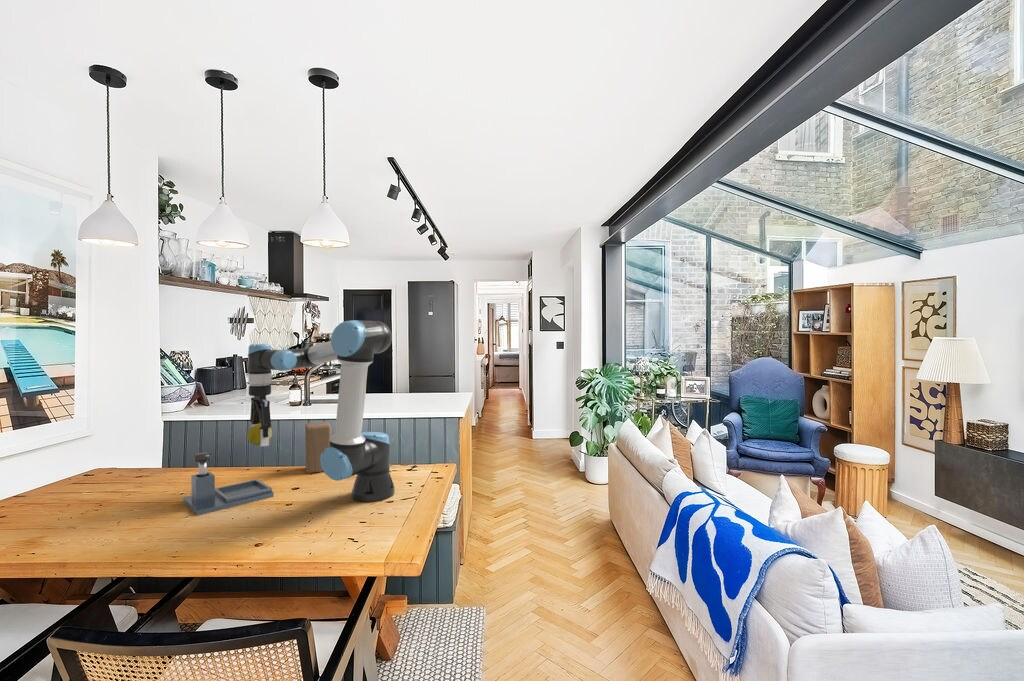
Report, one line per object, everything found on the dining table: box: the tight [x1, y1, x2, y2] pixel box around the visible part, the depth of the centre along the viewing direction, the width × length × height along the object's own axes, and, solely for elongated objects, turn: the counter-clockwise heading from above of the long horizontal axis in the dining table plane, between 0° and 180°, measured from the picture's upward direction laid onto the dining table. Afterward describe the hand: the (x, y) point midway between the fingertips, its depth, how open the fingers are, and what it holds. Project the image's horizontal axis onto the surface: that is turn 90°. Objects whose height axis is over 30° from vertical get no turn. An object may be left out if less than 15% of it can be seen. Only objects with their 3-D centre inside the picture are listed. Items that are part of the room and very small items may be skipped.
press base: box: [182, 471, 275, 516], centre depth 171 cm, size 18×24×10 cm
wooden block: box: [304, 421, 332, 474], centre depth 206 cm, size 10×10×20 cm
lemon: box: [246, 423, 273, 446], centre depth 180 cm, size 11×8×8 cm
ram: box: [193, 451, 212, 477], centre depth 165 cm, size 5×5×10 cm
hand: (260, 443), depth 180 cm, fingers closed on lemon, 9 cm apart
